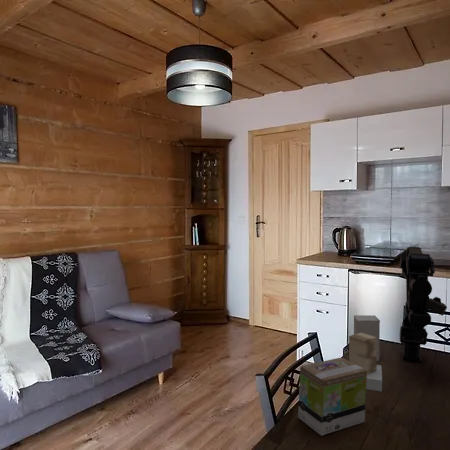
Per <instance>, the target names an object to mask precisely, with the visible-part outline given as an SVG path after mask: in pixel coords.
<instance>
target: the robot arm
mask: <svg viewBox="0 0 450 450" xmlns="http://www.w3.org/2000/svg"><path fill="white" fill-rule="evenodd" d="M399 258H400V260H399V269H401V275H402V276H403V277H404V278H405V284H406V286H405V287H406V288H405V289H406V290H405V291H406V295H405V297H406V302H405V312H406V316H405V318H404V319H403V321H402V323H401V326H400V328H399V342H400V343H402V344H403V350H402V352H401V358H402V360H403V361H411V362H417V363H422V362H423V359H422V357H421V356H422V355H421V346H426V344H428V343H427V342H428V341H427V340H428V335H429V334H428V332H427V329H426V328H425V327H426V326H429V325H430V324H432V315H431V314H430V313H429V312H430V311H431V312H434V313H436V314H438V315H439V316H444V314H445V312H446V310H447V308H448V306H447V305H446V304H445V303H444V302H442V299H441V298H440V297H439V296H434V297H433V298H430V295H431V294H432V291H433V287H432V284H431V282H430V281H429V277H434V274H435V273H436V272H435V271H436V270H435V269H436V268H435V261H434V260H433V257H432V256H431V255H430V254H429V253H424V252H423V251H422V247H419V246H417V247H416V246H408V247H406V250H405V251H404V252H403V253H402V254H400V257H399Z"/></svg>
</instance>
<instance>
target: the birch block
mask: <svg viewBox="0 0 450 450" xmlns="http://www.w3.org/2000/svg"><path fill="white" fill-rule="evenodd" d="M348 343H349V344H348V347H349V348H348V351H349V352H348V354H349V355H348V358H349V360H348V361H350V362H352V363H354V364H356V365H358V366H360V367H362V368H364V369H366V370H367V374H369V373H372V372H374V371H377V365H378V364H377V362H378V361H377V337H374V336H371V335H368V334H364V333H358V334H354V333H353V334H352V335H349V336H348Z"/></svg>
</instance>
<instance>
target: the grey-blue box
mask: <svg viewBox="0 0 450 450" xmlns="http://www.w3.org/2000/svg"><path fill="white" fill-rule="evenodd" d="M366 390H367V391H368V390H370V391H373V392H374V391H375V392H383V373H382V365H380V364H377V371H374V372H372V373H369V374H367V382H366Z"/></svg>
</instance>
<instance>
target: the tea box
mask: <svg viewBox="0 0 450 450" xmlns="http://www.w3.org/2000/svg"><path fill="white" fill-rule="evenodd" d="M366 382H367V370H366V369H364V368H362V367H360V366H358V365H356V364H354V363H352V362H350V361H349V360H348V359H345V358H343V356H342V357H338V358H333V359H332V358H331V359H327V360H324V361H323V360H322V361H318V362H314V363H309V364H305V365H300V368H299V390H298V413H297V415H298V416H297V417H298V419H299V420H300V421H302V422H303V423H304V424H305V425H306V426H308V427H310V428H311V429H312V430H313V431H314V432H316V433H317V434H319V436H321V437H322V436H325V435H328V434H330V433H334V432H337V431H340V430H344V429H347V428H350V427H353V426H356V425H360V424H363V423H365V422H366V419H365V417H366V405H367V404H366V403H367V402H366V401H367V398H366V397H367V389H366Z"/></svg>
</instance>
